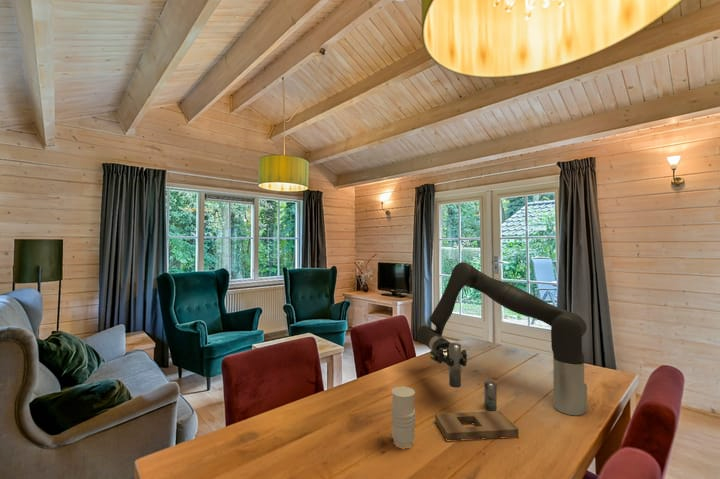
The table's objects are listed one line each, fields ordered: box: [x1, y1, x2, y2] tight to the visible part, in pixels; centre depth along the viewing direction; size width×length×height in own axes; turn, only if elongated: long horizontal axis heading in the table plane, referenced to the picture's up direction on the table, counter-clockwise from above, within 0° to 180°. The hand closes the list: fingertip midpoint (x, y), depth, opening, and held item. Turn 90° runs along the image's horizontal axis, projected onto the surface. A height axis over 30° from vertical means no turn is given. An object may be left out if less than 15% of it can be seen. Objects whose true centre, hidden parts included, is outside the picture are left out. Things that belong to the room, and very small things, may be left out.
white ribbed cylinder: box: [390, 386, 416, 448], centre depth 99 cm, size 7×7×15 cm
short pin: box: [483, 380, 498, 411], centre depth 119 cm, size 4×4×9 cm
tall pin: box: [448, 342, 462, 388], centre depth 117 cm, size 4×4×14 cm
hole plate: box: [434, 410, 519, 441], centre depth 106 cm, size 22×11×2 cm, turn 95°
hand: (458, 363), depth 115 cm, fingers closed on tall pin, 4 cm apart
